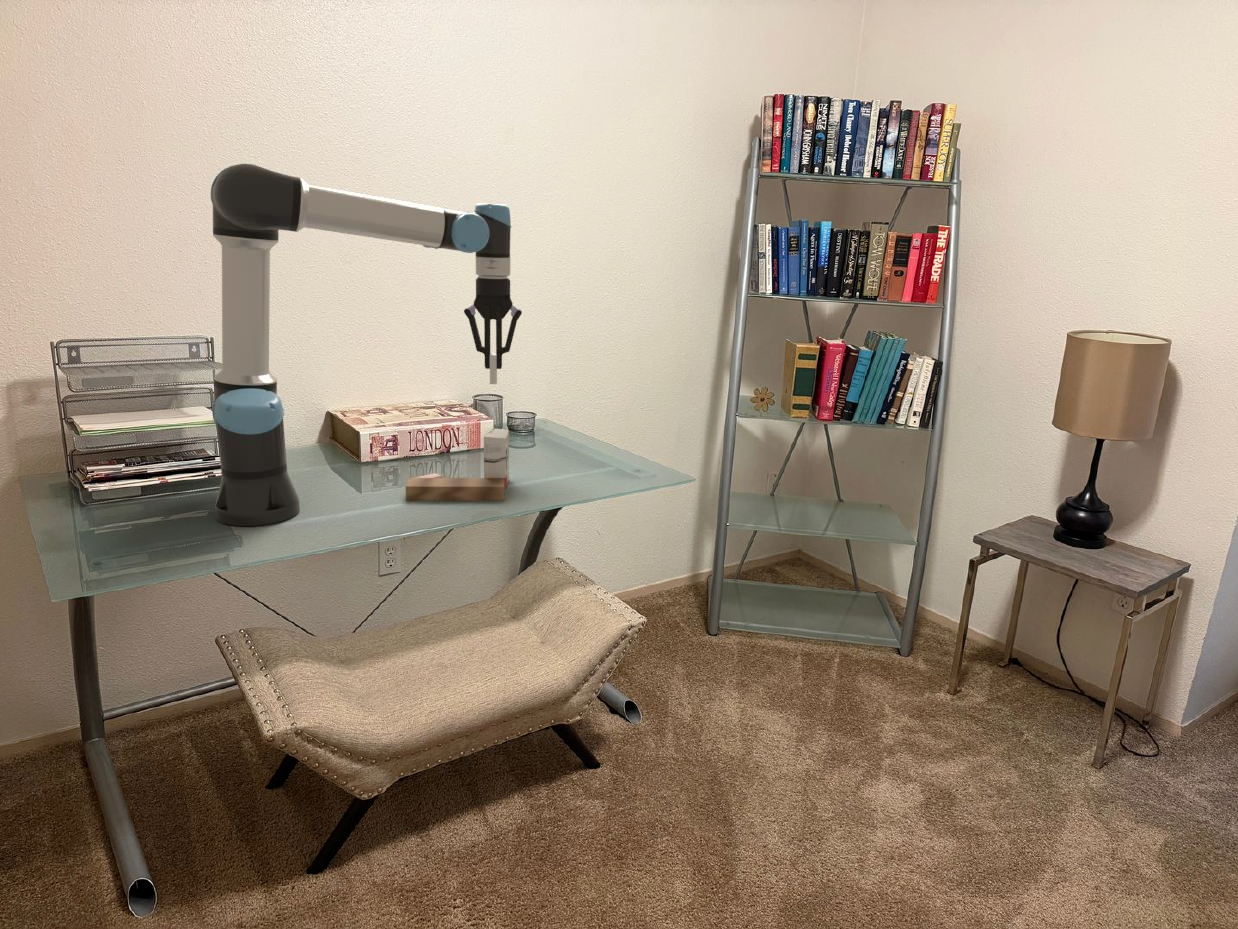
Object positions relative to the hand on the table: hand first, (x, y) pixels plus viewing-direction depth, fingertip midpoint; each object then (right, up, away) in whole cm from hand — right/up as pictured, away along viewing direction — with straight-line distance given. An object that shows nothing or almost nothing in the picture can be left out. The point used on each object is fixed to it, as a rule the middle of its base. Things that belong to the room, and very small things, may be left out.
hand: (493, 382), depth 196 cm
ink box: (+2, -23, -5) cm, 24 cm away
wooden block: (-6, -25, -14) cm, 29 cm away
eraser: (-13, -23, -7) cm, 28 cm away
